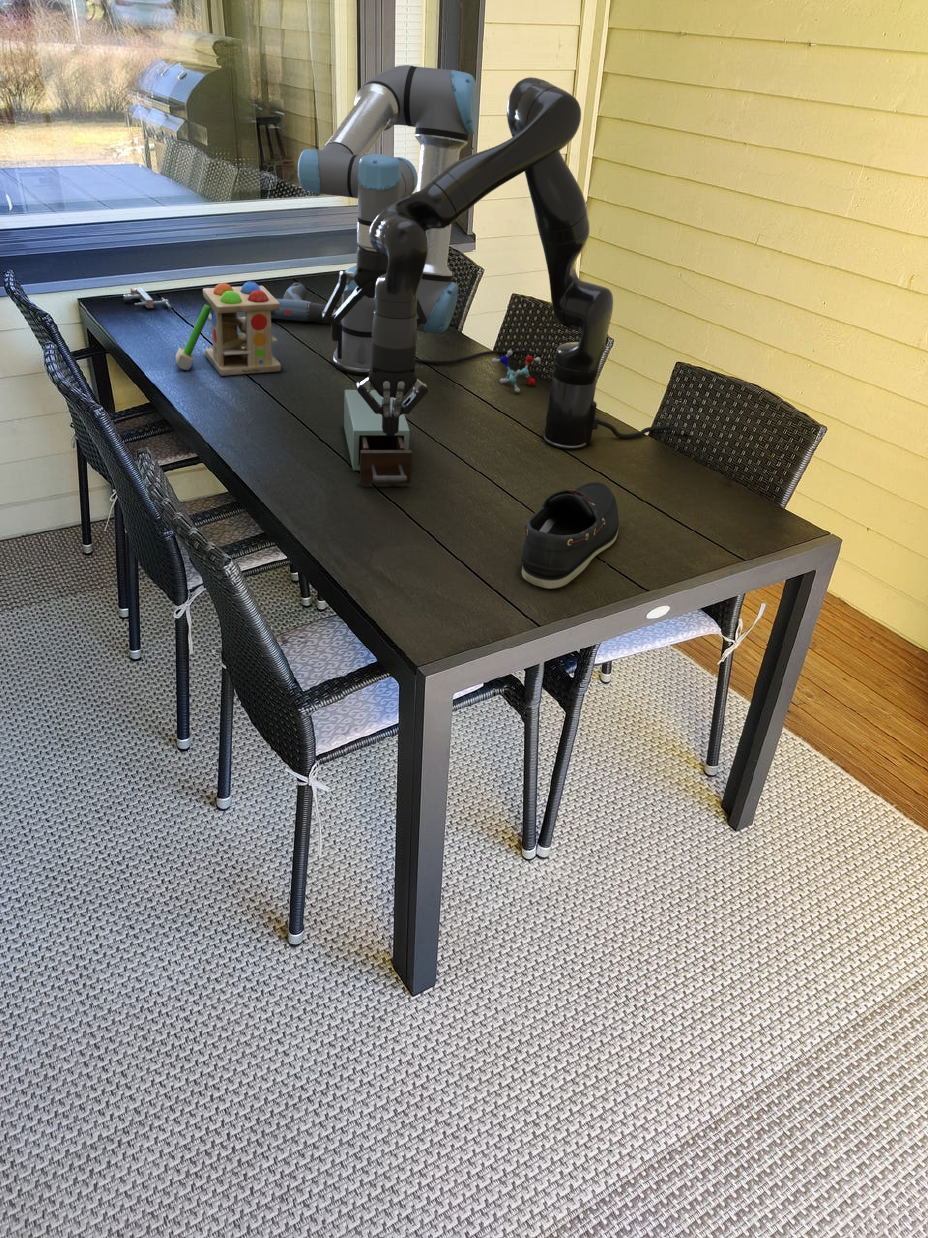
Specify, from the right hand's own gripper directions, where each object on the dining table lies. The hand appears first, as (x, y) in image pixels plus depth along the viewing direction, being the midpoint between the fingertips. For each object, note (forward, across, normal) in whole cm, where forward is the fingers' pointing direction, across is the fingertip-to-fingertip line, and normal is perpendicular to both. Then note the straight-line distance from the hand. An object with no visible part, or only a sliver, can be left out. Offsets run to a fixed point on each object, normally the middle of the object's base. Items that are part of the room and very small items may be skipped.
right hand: (390, 434), depth 175 cm
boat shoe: (+13, +30, -19) cm, 38 cm away
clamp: (+13, -51, +112) cm, 124 cm away
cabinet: (+12, 0, +21) cm, 25 cm away
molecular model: (+13, +37, +56) cm, 68 cm away
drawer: (+12, 0, +10) cm, 15 cm away
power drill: (+13, -9, +108) cm, 109 cm away
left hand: (-4, 0, +28) cm, 28 cm away
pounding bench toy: (+13, -30, +67) cm, 75 cm away
